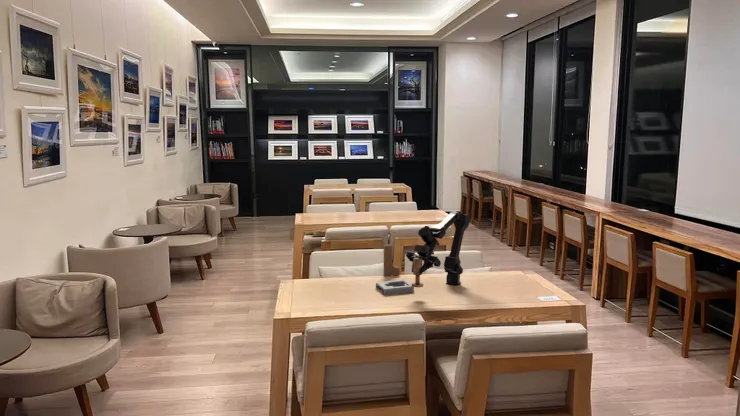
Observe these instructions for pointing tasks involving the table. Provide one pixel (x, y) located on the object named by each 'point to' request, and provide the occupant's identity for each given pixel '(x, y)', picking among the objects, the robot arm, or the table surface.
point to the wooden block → (389, 262)
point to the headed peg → (417, 272)
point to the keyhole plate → (391, 287)
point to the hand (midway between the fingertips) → (416, 272)
